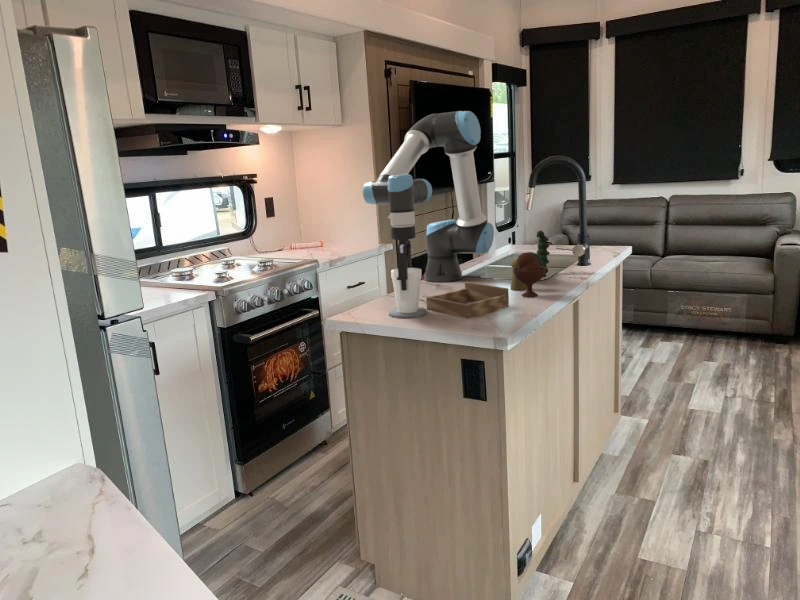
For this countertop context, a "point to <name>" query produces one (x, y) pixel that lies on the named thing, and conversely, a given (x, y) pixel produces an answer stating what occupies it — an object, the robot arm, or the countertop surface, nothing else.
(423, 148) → the robot arm
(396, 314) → the rubber mat
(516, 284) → the cork
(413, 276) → the foam cup
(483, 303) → the frame
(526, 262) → the ice cream bowl
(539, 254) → the toy figurine
